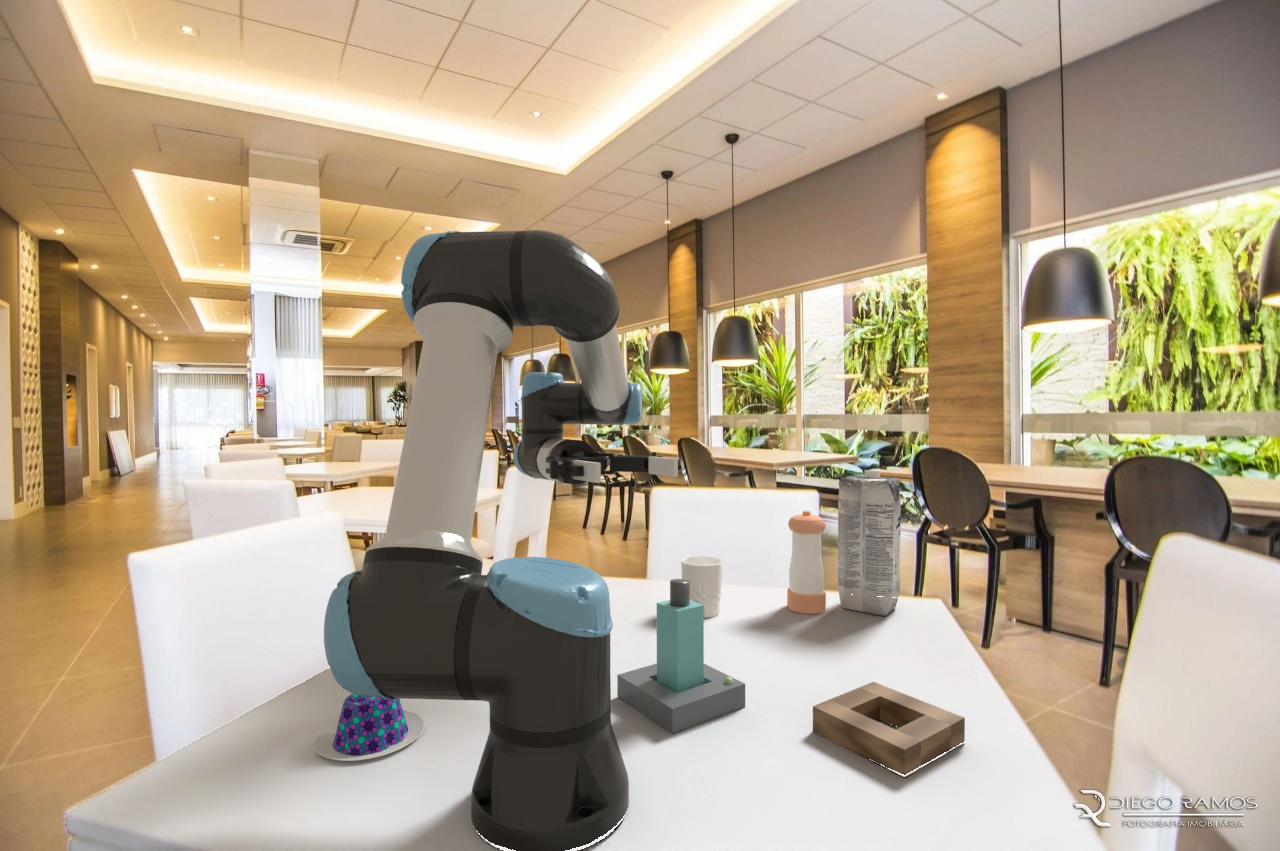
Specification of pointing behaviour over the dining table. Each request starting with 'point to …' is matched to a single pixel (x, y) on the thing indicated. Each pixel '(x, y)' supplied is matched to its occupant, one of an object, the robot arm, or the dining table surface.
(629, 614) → the dining table surface
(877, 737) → the holster
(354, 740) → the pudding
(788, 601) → the pepper shaker
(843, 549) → the juice carton
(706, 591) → the white cup
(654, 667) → the port
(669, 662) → the plug
